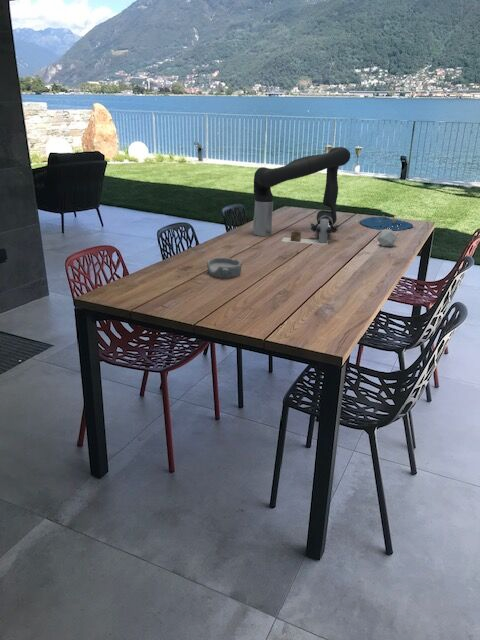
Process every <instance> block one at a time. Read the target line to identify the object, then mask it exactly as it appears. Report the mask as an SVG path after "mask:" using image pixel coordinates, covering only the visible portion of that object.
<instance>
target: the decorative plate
mask: <svg viewBox="0 0 480 640" xmlns="http://www.w3.org/2000/svg"><path fill="white" fill-rule="evenodd" d="M359 224H361V225H362V226H365V227H368V228H369V229H371V230H380V231H381V230H392V231H397V230H398V231H402V230H403V229H404V230H405V231H406V230H408V229H409V228H413V227H414V225H413V223H410V222H408V221H405V220H400V219H397V218H391V217H387V216H385V214H384V215H383V214H382V215H381V216H370V217H367V218H364V219H360V220H359ZM399 224H401V225H399ZM397 225H398V227H397ZM392 226H393V227H392ZM384 227H385V228H384ZM386 227H387V228H388V229H387V228H386ZM389 228H390V229H389ZM398 228H399V229H398Z"/></svg>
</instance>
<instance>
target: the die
mask: <svg viewBox="0 0 480 640" xmlns="http://www.w3.org/2000/svg"><path fill="white" fill-rule="evenodd" d="M397 239H398V235H396V234H395V232H394V230H386V229H385V230H380V232H379V235H378V236H377V238H376V240H377V241H378V242H379V244H380V245H381V247H393V245H395V242H396V240H397Z"/></svg>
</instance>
